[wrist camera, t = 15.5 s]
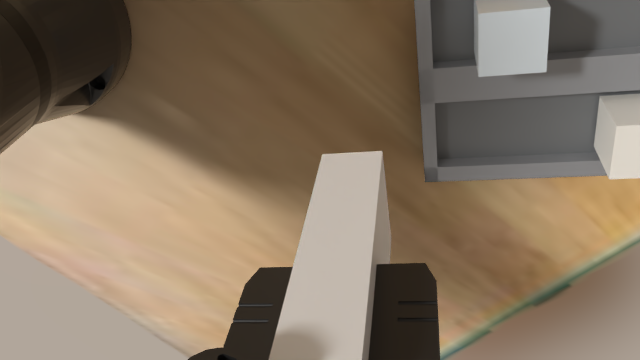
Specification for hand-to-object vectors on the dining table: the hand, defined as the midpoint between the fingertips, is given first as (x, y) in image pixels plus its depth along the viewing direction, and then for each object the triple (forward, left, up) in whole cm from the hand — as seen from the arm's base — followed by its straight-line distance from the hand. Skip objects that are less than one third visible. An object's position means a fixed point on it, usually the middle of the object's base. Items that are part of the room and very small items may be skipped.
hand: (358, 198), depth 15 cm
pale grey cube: (+7, -5, -27) cm, 28 cm away
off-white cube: (+15, -13, -27) cm, 34 cm away
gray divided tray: (+11, -9, -29) cm, 32 cm away
